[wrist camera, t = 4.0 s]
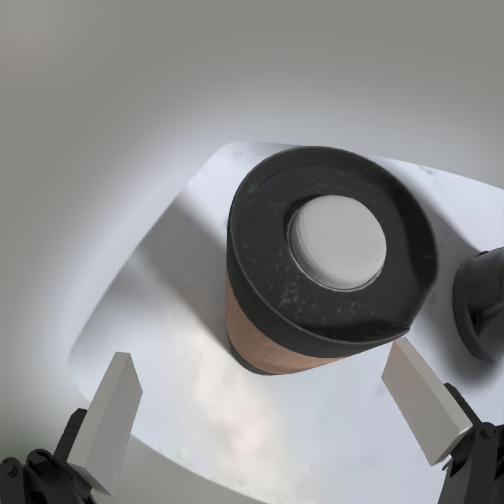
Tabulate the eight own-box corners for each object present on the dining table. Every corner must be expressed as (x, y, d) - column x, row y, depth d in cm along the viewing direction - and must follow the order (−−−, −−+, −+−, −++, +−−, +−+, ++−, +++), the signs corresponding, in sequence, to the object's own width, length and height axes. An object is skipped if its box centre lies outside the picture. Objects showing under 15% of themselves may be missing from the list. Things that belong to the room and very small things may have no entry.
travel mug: (227, 300, 28) (231, 134, 10) (303, 302, 28) (409, 159, 10) (225, 377, 24) (216, 353, 6) (306, 377, 25) (460, 337, 7)
